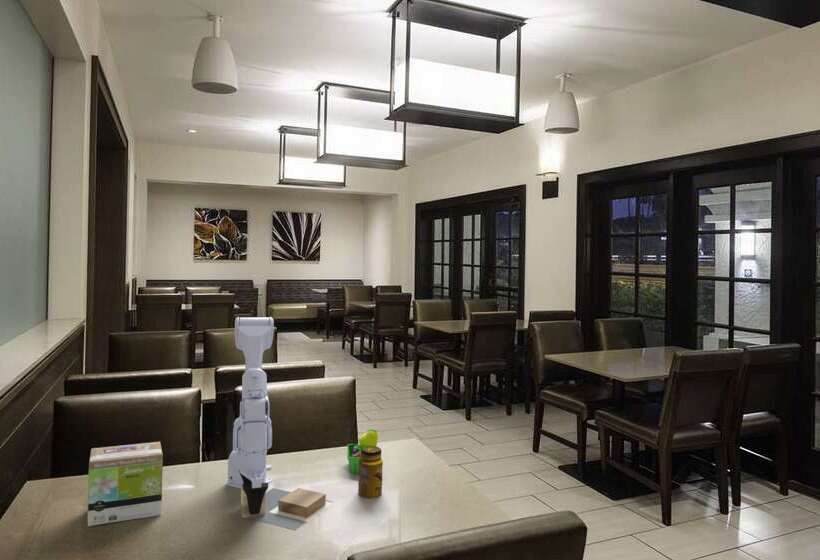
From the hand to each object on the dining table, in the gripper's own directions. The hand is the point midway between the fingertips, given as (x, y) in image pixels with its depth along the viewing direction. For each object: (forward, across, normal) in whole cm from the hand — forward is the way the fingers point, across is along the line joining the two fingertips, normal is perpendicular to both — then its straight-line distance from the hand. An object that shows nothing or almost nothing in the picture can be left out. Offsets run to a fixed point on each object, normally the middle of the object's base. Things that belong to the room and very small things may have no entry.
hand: (252, 506), depth 131 cm
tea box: (+2, +9, +28) cm, 29 cm away
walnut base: (+1, -1, -11) cm, 11 cm away
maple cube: (+1, 0, 0) cm, 1 cm away
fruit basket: (+2, +20, -32) cm, 38 cm away
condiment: (+2, +1, -28) cm, 28 cm away
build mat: (+2, 0, -7) cm, 7 cm away
